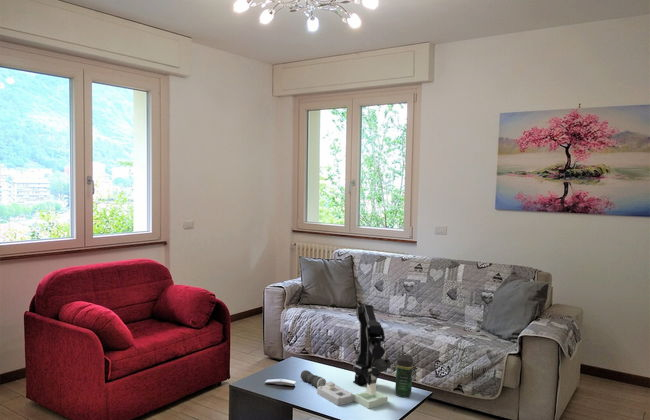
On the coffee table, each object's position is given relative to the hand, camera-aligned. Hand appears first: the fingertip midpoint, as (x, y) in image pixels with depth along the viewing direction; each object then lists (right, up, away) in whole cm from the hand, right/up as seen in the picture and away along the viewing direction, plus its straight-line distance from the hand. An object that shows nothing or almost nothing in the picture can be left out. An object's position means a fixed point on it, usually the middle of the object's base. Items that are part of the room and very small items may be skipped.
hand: (371, 384), depth 237 cm
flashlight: (-28, -7, +19) cm, 35 cm away
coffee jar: (+17, -9, +12) cm, 23 cm away
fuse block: (-17, -8, +4) cm, 19 cm away
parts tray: (0, -9, 0) cm, 9 cm away
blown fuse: (0, -5, 0) cm, 5 cm away
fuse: (-20, -7, +7) cm, 22 cm away
